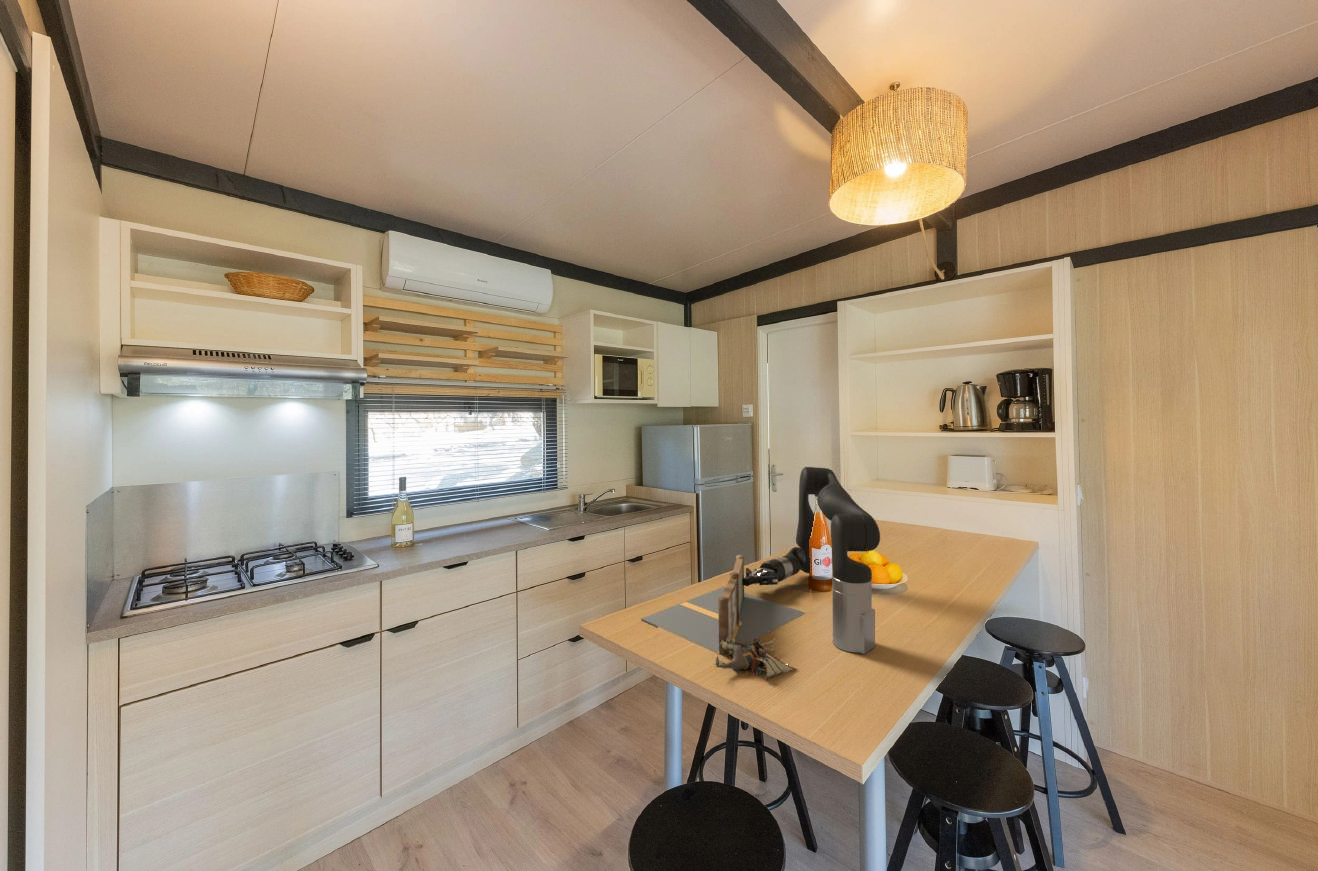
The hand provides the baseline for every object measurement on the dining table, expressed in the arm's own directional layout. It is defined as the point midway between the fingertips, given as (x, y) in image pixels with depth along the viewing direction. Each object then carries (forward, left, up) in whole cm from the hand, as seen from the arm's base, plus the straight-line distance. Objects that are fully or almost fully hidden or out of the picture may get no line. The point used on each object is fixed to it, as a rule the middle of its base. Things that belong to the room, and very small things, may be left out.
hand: (744, 582), depth 150 cm
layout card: (-2, +13, -7) cm, 15 cm away
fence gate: (-2, +5, -6) cm, 8 cm away
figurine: (-26, +29, -7) cm, 40 cm away
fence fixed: (-12, +23, -6) cm, 26 cm away
